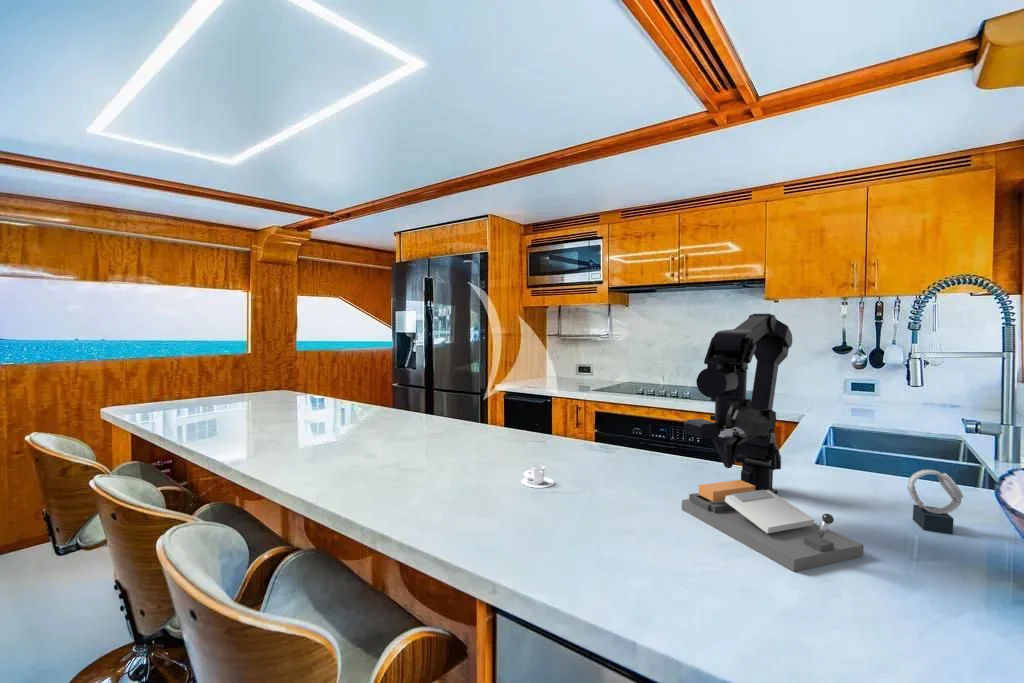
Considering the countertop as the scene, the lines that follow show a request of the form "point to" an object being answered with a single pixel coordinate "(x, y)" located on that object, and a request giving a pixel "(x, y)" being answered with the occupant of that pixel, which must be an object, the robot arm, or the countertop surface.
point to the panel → (775, 536)
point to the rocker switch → (768, 511)
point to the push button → (724, 489)
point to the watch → (934, 516)
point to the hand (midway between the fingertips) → (728, 467)
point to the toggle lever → (825, 524)
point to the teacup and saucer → (536, 477)
